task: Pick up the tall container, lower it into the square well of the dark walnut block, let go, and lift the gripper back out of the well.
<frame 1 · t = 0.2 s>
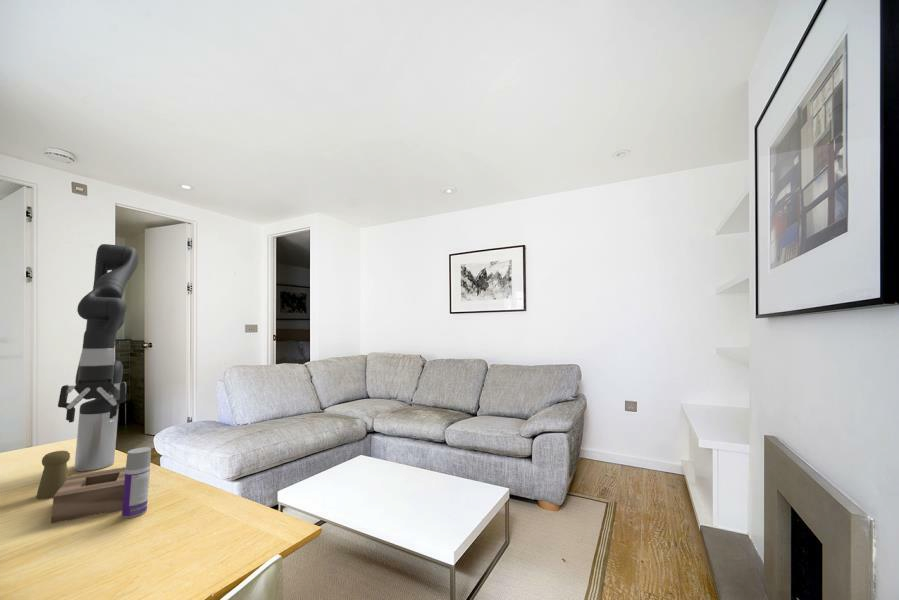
hand: (91, 420, 107), 17 cm above the table, tool pointing down, fingers open, 8 cm apart
cork: (52, 495, 98), on the table
container: (134, 514, 89), on the table
well block: (98, 503, 94), on the table
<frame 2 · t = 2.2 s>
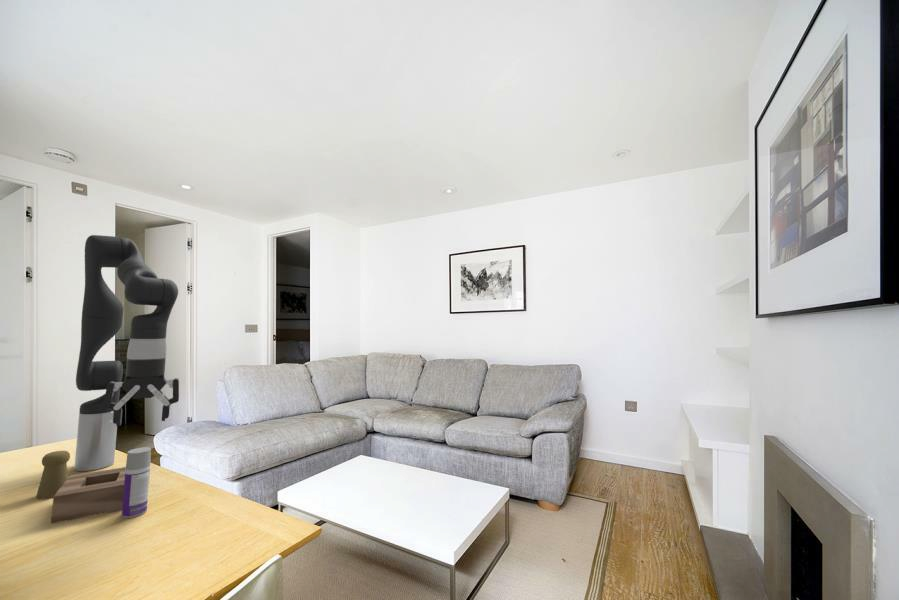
hand: (141, 422, 91), 22 cm above the table, tool pointing down, fingers open, 8 cm apart
nothing on the table moved.
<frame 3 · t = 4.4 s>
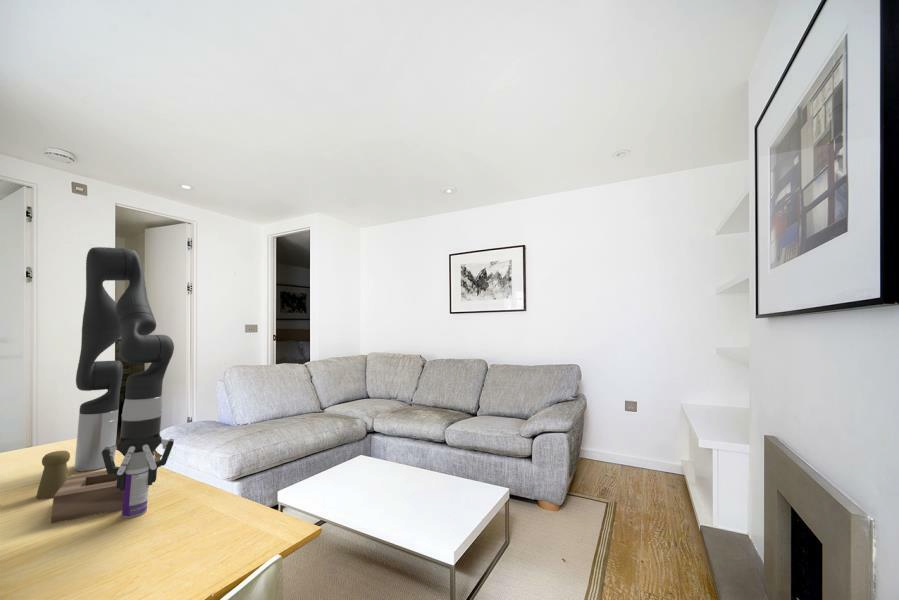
hand: (136, 486, 90), 6 cm above the table, tool pointing down, fingers closed on container, 4 cm apart
container: (134, 514, 89), on the table, touching gripper
everything else where it was.
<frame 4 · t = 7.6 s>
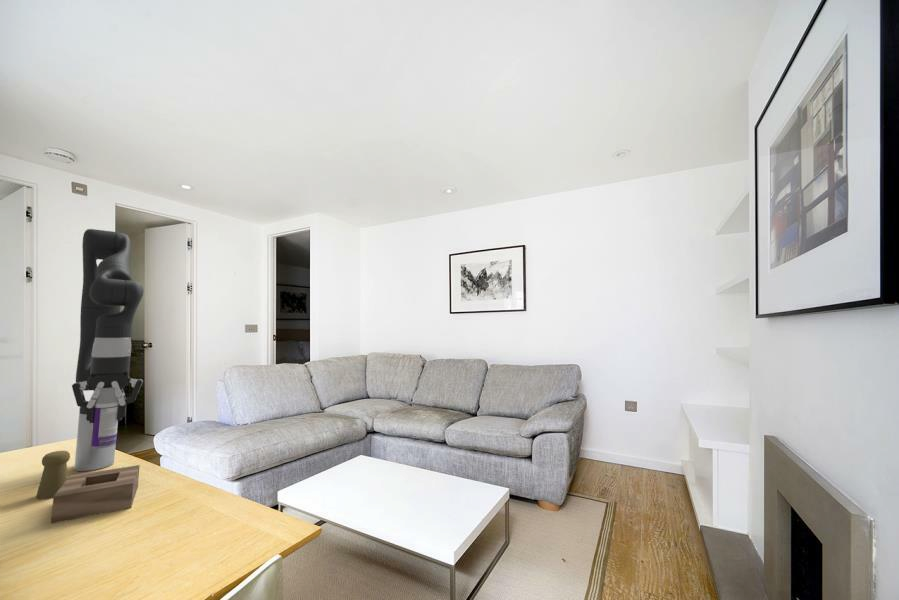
hand: (105, 420, 95), 21 cm above the table, tool pointing down, fingers closed on container, 4 cm apart
container: (103, 446, 95), point 14 cm above the table, touching gripper
everything else where it was.
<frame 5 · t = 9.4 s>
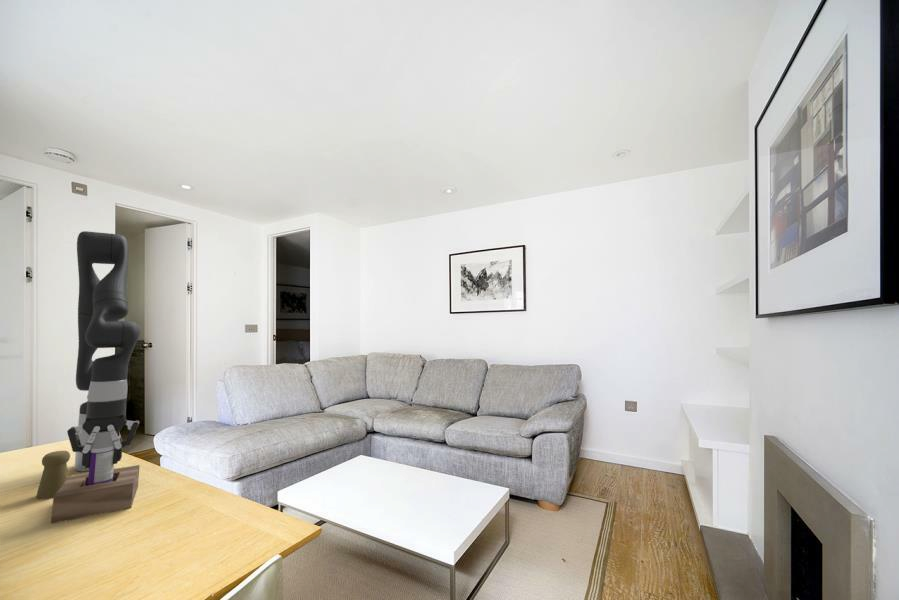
hand: (101, 464, 94), 10 cm above the table, tool pointing down, fingers closed on container, 4 cm apart
container: (99, 491, 94), point 3 cm above the table, touching gripper
everything else where it was.
when the fingers open (8 cm above the table, at t = 10.6 s): container stays where it is, resting on well block.
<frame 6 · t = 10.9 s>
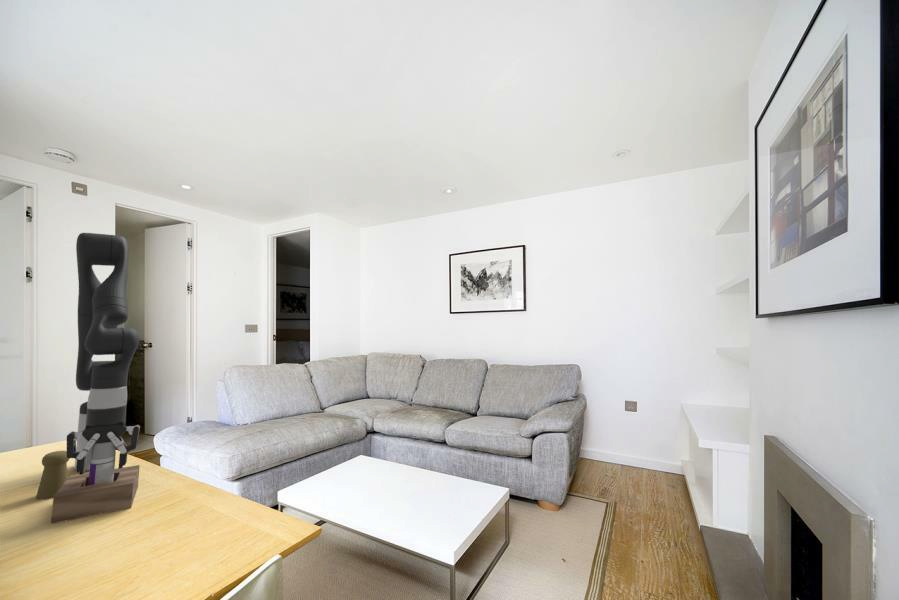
hand: (101, 470, 94), 8 cm above the table, tool pointing down, fingers open, 6 cm apart
container: (99, 502, 94), resting on well block
everything else where it was.
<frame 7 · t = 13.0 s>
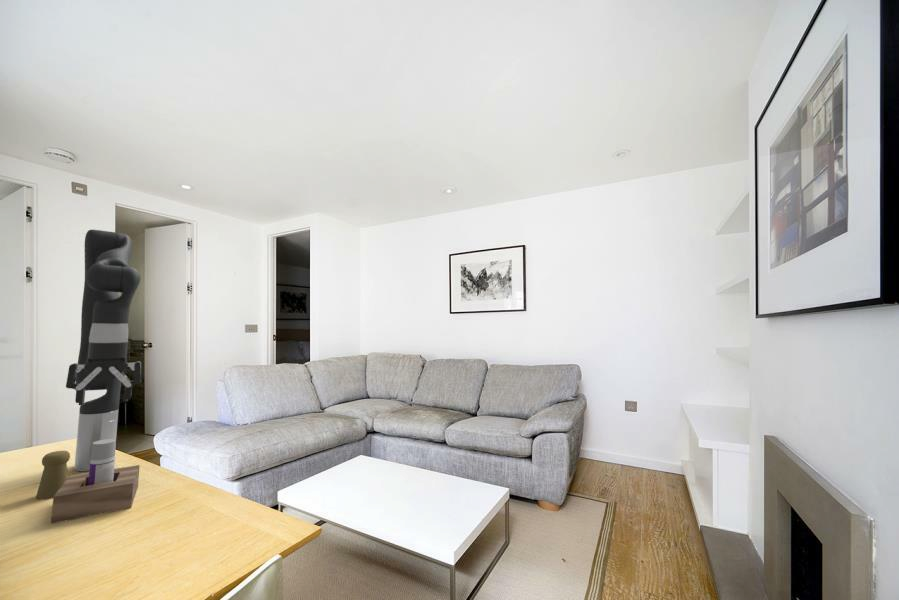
hand: (103, 402, 96), 25 cm above the table, tool pointing down, fingers open, 8 cm apart
nothing on the table moved.
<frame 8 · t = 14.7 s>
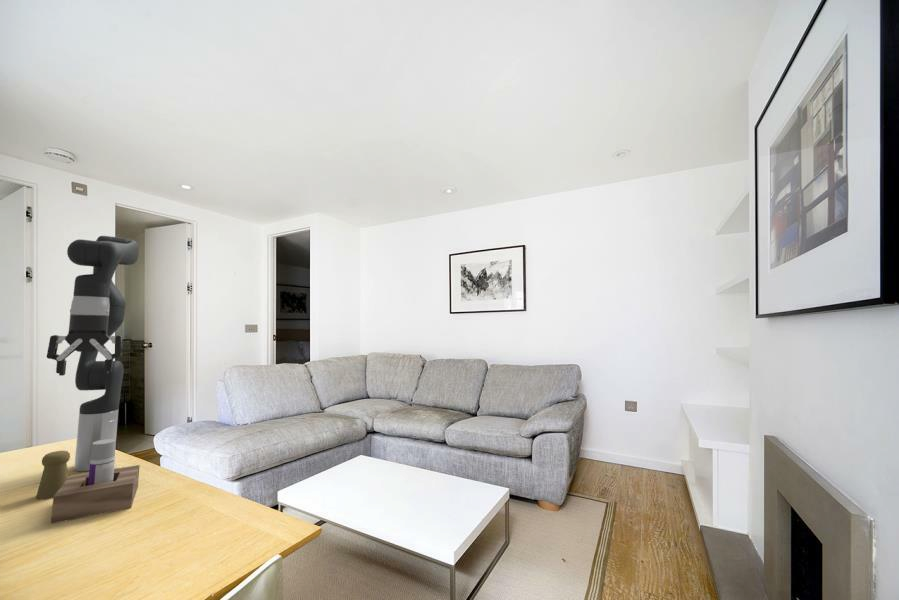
hand: (84, 374, 98), 32 cm above the table, tool pointing down, fingers open, 8 cm apart
nothing on the table moved.
at the end: container 0.1 cm off-centre on the well block, point 0.2 cm above the well block's base; container tilted 0°; the gripper is holding nothing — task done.
